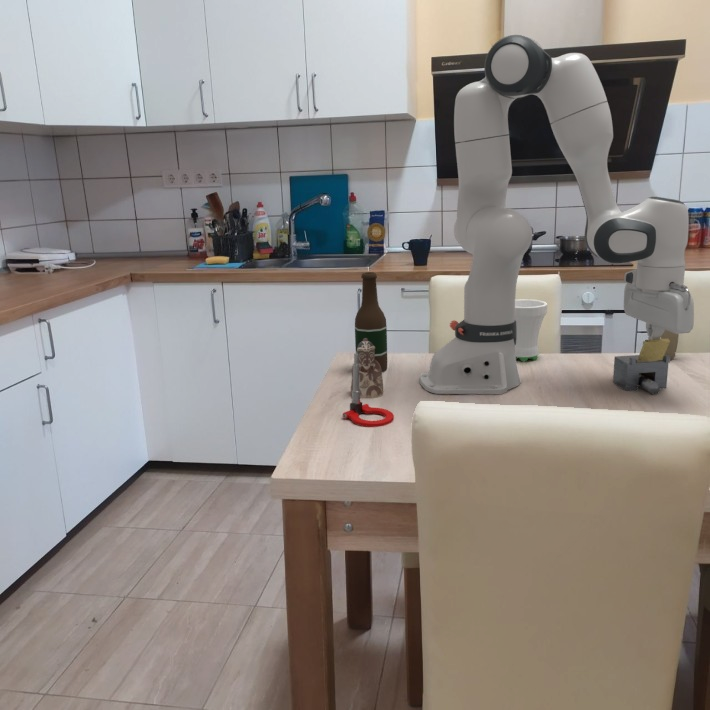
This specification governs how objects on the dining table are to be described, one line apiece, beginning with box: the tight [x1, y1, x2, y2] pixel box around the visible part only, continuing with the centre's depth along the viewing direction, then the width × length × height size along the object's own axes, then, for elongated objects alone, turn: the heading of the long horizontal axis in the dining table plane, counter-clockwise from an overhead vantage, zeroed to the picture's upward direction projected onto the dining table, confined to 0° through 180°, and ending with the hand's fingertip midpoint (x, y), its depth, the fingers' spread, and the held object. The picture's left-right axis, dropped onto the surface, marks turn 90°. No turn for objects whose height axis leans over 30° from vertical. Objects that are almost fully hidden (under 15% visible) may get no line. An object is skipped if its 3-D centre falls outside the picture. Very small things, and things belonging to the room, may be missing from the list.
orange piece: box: [638, 373, 662, 395], centre depth 145 cm, size 5×12×3 cm, turn 5°
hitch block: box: [612, 354, 671, 392], centre depth 145 cm, size 9×7×7 cm
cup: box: [515, 298, 548, 362], centre depth 169 cm, size 11×11×14 cm
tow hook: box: [342, 352, 395, 428], centre depth 131 cm, size 8×13×9 cm
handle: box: [660, 330, 680, 360], centre depth 164 cm, size 5×6×15 cm
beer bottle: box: [354, 271, 388, 373], centre depth 162 cm, size 8×8×24 cm
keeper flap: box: [636, 338, 670, 363], centre depth 140 cm, size 6×6×1 cm
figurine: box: [350, 338, 384, 400], centre depth 146 cm, size 7×7×12 cm
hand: (654, 345), depth 139 cm, fingers closed, pressing on keeper flap
